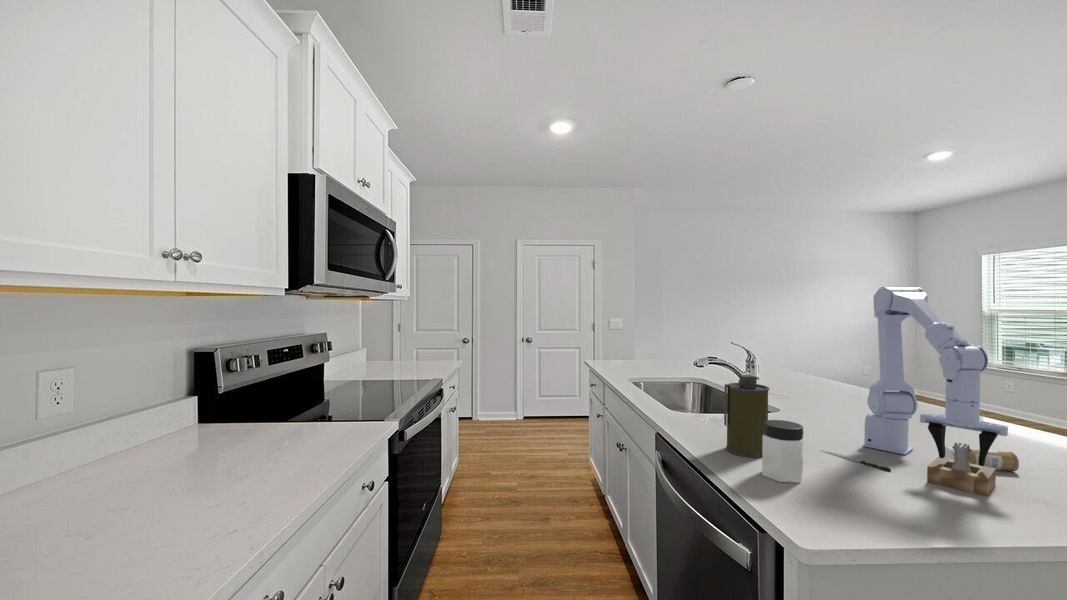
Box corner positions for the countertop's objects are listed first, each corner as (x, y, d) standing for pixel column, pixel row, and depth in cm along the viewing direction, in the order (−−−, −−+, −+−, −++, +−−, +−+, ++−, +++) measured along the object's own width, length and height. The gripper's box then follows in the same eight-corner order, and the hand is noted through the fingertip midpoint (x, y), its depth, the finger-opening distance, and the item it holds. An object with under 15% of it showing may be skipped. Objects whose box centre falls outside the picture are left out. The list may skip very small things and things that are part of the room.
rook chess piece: (942, 476, 110) (943, 441, 110) (960, 476, 111) (960, 441, 111) (962, 484, 106) (963, 447, 106) (980, 483, 106) (981, 447, 106)
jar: (812, 480, 109) (813, 427, 109) (788, 486, 106) (788, 431, 105) (777, 467, 117) (777, 417, 117) (753, 472, 114) (754, 421, 114)
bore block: (927, 481, 109) (927, 466, 109) (937, 471, 115) (937, 456, 115) (987, 496, 101) (988, 479, 101) (995, 484, 107) (995, 468, 107)
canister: (760, 446, 134) (760, 373, 134) (775, 458, 123) (776, 380, 123) (719, 444, 135) (720, 372, 135) (731, 456, 125) (731, 379, 124)
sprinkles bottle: (1010, 447, 117) (944, 442, 120) (1022, 461, 113) (953, 455, 116) (1005, 462, 118) (939, 456, 122) (1016, 476, 114) (948, 470, 118)
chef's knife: (820, 449, 133) (813, 450, 132) (820, 445, 133) (813, 446, 132) (897, 472, 116) (889, 473, 114) (897, 467, 116) (890, 468, 114)
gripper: (916, 396, 111) (916, 456, 111) (1005, 408, 100) (1003, 474, 100) (924, 393, 115) (923, 450, 115) (1009, 403, 104) (1008, 466, 104)
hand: (961, 461), depth 108 cm, fingers open, 6 cm apart
